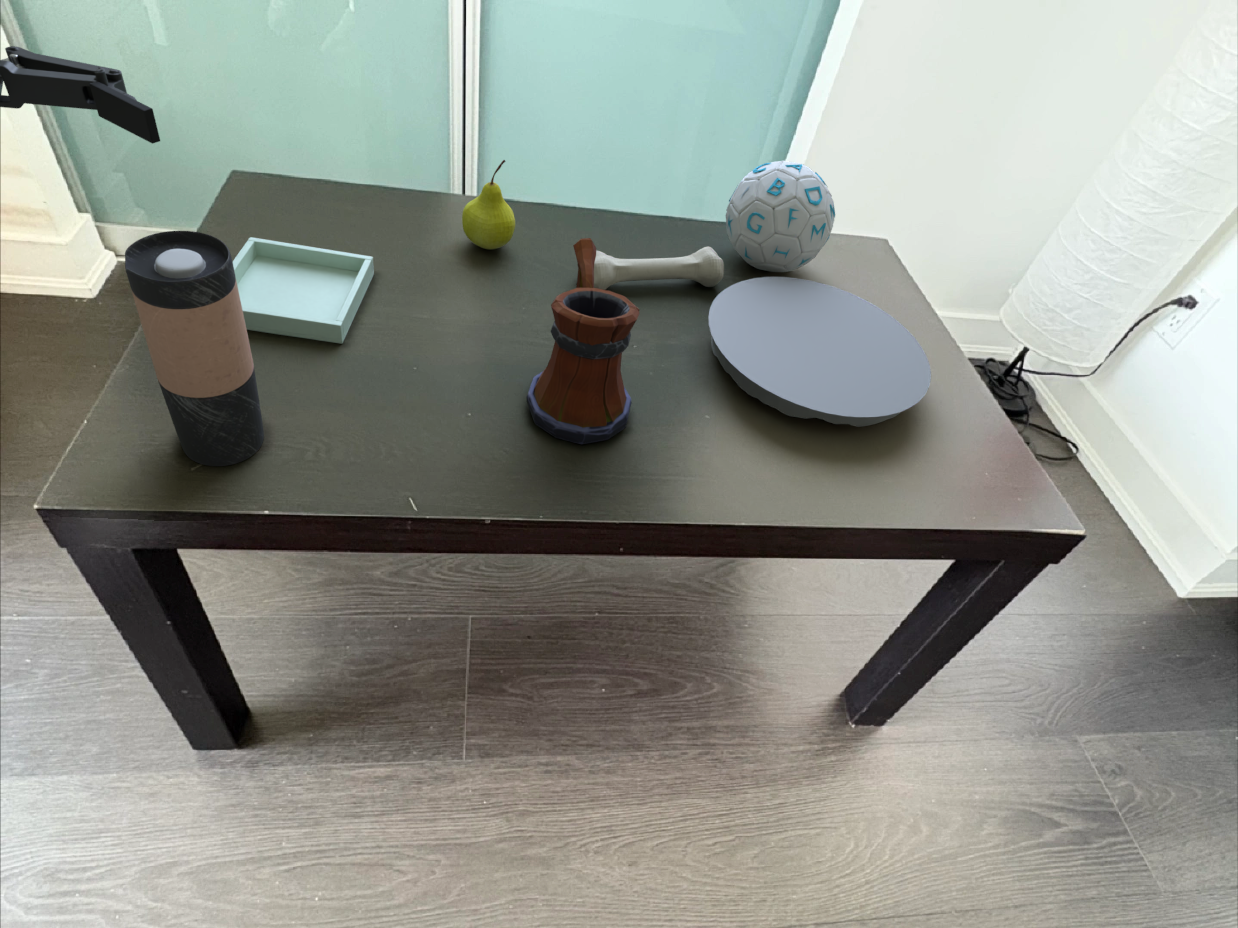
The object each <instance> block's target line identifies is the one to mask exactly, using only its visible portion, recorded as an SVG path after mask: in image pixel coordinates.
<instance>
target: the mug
mask: <svg viewBox="0 0 1238 928" xmlns="http://www.w3.org/2000/svg"><path fill="white" fill-rule="evenodd" d="M572 247H573V250H574V254H575V258H576V263H577V264H576V265H577V279H576V280H577V281H576V287H575V288H572V289H570V290H566V291H564V292H561V293H560V294H558V295H556V297H555V298H554V299H553V301H552V303H551V304H550V307H551V311H552V314H553V318H554V321H553V323H552V326H551V329H550V334H551V336H552V338H553V340H554V343H553V346H552V351H551V355H550V358H549V361H548V363H547V365H546V367H545V368H544V370H543V371H541V372H538V373H537V374H536V375H534V376H533V377H532V380H531V383H530V386H529V389H528V393H527V395H526V403H527V406H528V410H529V411H530V415H531V417H532V420H533V422H534V424H535V426H537V427H539V428H540V429H541V430H543V431H544V432H546V433H548V434H549V435H551V436H552V437H554V438H555V439H559V440H563V441H567V442H571V443H574V444H578V445H586V444H591V443H592V444H593V443H597V442H602V441H607V440H610V439H611V438H613V437H614V436H616V435H617V434H619V433H620V432H622V431H623V430H624V429H626V427H627V424H628V420H629V416H630V411H631V406H632V397H631V396H630V393H629V392H628V391H627V389H626V387H625V384H624V380H623V375H622V369H621V368H622V356H623V353H624V352H625V350H626V349H627V348H628V347H629V345H630V342H631V336H632V333H631V331H632V329H633V327H634V326H635V324H636V322H637V321H638V318H639V316H640V313H641V312H640V308H639V307H638V306H637V305H635V304H634V303H633V302H632V301H631V300H629V298H628V297H626V296H625V295H622V294H620V293H616V292H614V291H611V290H607V289H605V290H603V289H598V288H594V263H595V258H596V251H597V247H596V245H595V243H594V241H593V239H592V238H590V237H584V238H580V239H578V241H576V242H575V243H574V244H573V246H572Z"/></svg>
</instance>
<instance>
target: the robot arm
mask: <svg viewBox="0 0 1238 928" xmlns="http://www.w3.org/2000/svg"><path fill="white" fill-rule="evenodd" d="M4 51H5V53H6V55H7V57H5V58H3V59H0V108H5V109H6V108H7V109H17V110H18V109H21V108H22V107H23V106H24V105H37V106H46V107H47V106H48V107H57V108H58V107H59V108H60V107H61V108H70V109H71V108H72V109H81V110H82V109H83V110H92V111H97V114H98V117H99V118H102V119H103V120H105V121H107V122H109V123H111V124H114V125H115V126H117V127H119V128H121V129H123V130H125V131H126V132H128V133H131V134H133V135H134V136H136V137H139V138H140V139H143V140H144V141H146V142H148V143H150V144H156V143H159V142H161V138H160V133H159V130H158V126H157V122H156V118H155V117H156V116H155V113H154V109H153V108H152V107H150V106H148V105H147V104H144V103H142V102H140V101H138V100H137V98H136V97H135V96H133V95H131V94H129V93H128V91H127V89H126V84H125V80H124V77H123V73H122V70H120V69H118V68H117V69H116V68H112V67H106V66H101V65H97V64H91V63H86V62H82V61H81V62H80V61H77V60H76V61H75V60H71V59H66V58H60V57H55V56H50V55H47V54H40V53H35V52H33V51H30V50H28V49H25V48H24V47H23V48H22V47H20V46H16V45H10V46H7V47H5V48H4ZM3 85H4V86H5V89H6V92H7V95H5V94H4V95H3V94H2V93H3V92H2V91H3V87H4V86H3Z"/></svg>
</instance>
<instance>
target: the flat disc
mask: <svg viewBox="0 0 1238 928" xmlns="http://www.w3.org/2000/svg"><path fill="white" fill-rule="evenodd" d="M708 326H709V331H710V334H711V338H710V342H711V343H710V344H711V350H712V353H713V355H714V356H715V357H716V358H717V360H718V361H719V363H720V365H721V366H722V369H723V370H724V371H725V372H726V373H727V374H729V376H730V377H731V378H732V380H733V381H734V382H735V383H736V385H737V386H738V387H739V388H740V389H741V390H743V391H744V392H745V393H746V394H747V395H749V396H751V397H753V398H755V399H758V400H759V401H760V402H761V403H762V404H763V405H767V406H768V407H771V408H774V409H776V410H777V411H779V412H780V413H782V414H784V415H785V416H789V417H795V418H799V419H813V418H814V419H815V418H817V419H819V420H824V421H825V422H827V423H830V424H831V423H832V424H833V425H850V426H854V427H856V428H860V427H861V428H862V427H867V426H873V425H876V424H879V423H882V422H884V421H887V420H891V419H893V418H895V417H896V416H898V415H899V414H901V413H902V412H904V411H906V410H909V409H910V408H911V407H914V406H915V405H917V404H918V403H920V401H921V400H922V399H923V398H924V397H925V395H926V394H927V392H928V390H929V388H930V384H931V381H932V369H931V363H930V361H929V358H928V356H927V354H926V353H925V349H924V348H923V347H922V345H921V344H920V343H919V341H918V340H917V338H916V337H915V336H914V335H913V334H912V333H911V331H909V330H908V328H906V326H904V325H903V324H902V323H901V322H900V321H899V320H897V319H896V318H895V317H893V316H892V315H891V314H890V313H888V312H887V311H885V310H883V308H880V307H879V306H877V305H875V304H874V303H872V302H870V301H868V300H867V299H865V298H862V297H860V296H858V295H856V294H854V293H852V292H850V291H847V290H844V289H841V288H839V287H836V286H832V285H829V284H826V283H822V282H819V281H814V280H810V279H804V278H799V277H789V276H761V277H753V278H749V279H745V280H741V281H738V282H736V283H733V284H731V285H729V286H728V287H726V288H724V289H723V290H722V291H721V292H720V293H718V294H717V295H716V297H715V298H714V299H713V301H712V302H711V305H710V307H709V312H708Z"/></svg>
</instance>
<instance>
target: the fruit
mask: <svg viewBox="0 0 1238 928" xmlns="http://www.w3.org/2000/svg"><path fill="white" fill-rule="evenodd" d="M505 163H506V160H505V159H503V160H502V161H501V163H500V164H499V165H498V167H497V168H496V169H495V170H494V173H493V175H492V177H491V180H490V181H488V182H486V183H485V184H484V185H483V187H482V189H481V191H480V193H479V195H478V196H476V197H475V198H474V199H472V200H470V201H469V202H467V203H466V204H465V206H464V207H463V210H462V214H461V215H462V216H461V224H462V229H463V233H464V234H465V236H466V237H467V238H468V240H469V241H470V242H471V243H473V244H474V245H475V246H477V247H479V248H481V249H485V250H496V249H500V248H502V247H504V246H505V245H508V243H509V242H510V241H511V240H512V238H513V235H514V232H515V229H516V218H515V213H514V211H513V209H512V207H511V206H510V205H509V204H508V203H507V202H506V201H505V199H504V197H503V194H502V190H501V187H500V186H499V184H498V183H496V182H494V180H495V179H494V178H495V175H496V174H497V173H498V172H499V170H500V169H501V168H502V167H503V165H504V164H505Z"/></svg>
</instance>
